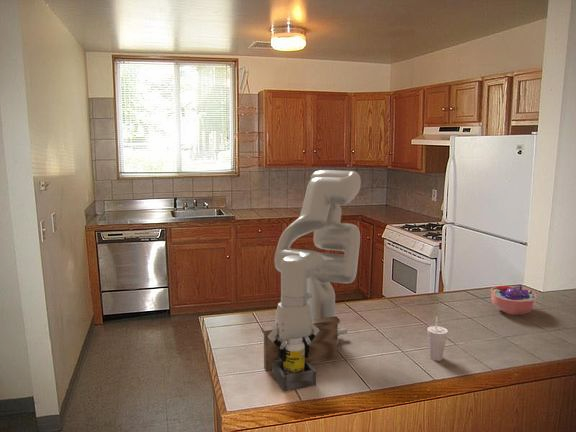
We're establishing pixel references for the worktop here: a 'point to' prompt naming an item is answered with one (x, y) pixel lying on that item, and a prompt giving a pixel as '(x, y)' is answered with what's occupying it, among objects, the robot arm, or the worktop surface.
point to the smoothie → (436, 341)
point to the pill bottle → (294, 356)
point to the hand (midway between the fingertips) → (293, 357)
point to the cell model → (513, 299)
